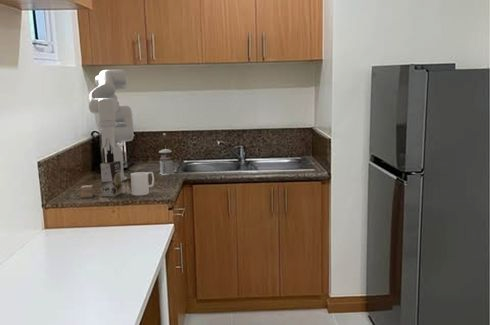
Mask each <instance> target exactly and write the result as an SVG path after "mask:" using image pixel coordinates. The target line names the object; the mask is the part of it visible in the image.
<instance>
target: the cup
mask: <svg viewBox="0 0 490 325" xmlns="http://www.w3.org/2000/svg"><path fill="white" fill-rule="evenodd" d="M150 174H151V178H152V180H151V184H149V175H150ZM130 184H131V186H130V187H131V195H132V196H145V195H149V194H150V188H152V187H154V185H155V176H154V172H153V171H148V172H146V171H139V172H132V173H130Z"/></svg>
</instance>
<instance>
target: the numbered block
mask: <svg viewBox="0 0 490 325" xmlns="http://www.w3.org/2000/svg"><path fill="white" fill-rule="evenodd" d="M93 196H95V195H94V185H93V184H89V185H81V186H80V198H83V199H86V198H93Z"/></svg>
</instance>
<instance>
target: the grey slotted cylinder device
mask: <svg viewBox="0 0 490 325" xmlns="http://www.w3.org/2000/svg"><path fill="white" fill-rule="evenodd" d="M162 135H163V136H164V137H166V136H167V133H165V132H164V133H162ZM158 153H159V154H161V155H160V158H159V159H160V160H159V171H160V172H159V173H158V175H159V174H161V175H160V176H170V175H169V174H172V175H175V174H176V173H175V172H174V168H173V167H174V166H173V165H174V164H173V163H174V162H173V159H172V157H171V156H169V157H166V155H163V154H169V153H173V151H172V150H171V149H169V148H166V146H164V149H161V150H159V151H158Z"/></svg>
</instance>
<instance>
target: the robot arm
mask: <svg viewBox="0 0 490 325" xmlns="http://www.w3.org/2000/svg"><path fill="white" fill-rule="evenodd" d="M94 82H95V86H96V87H94V89H92V90H91V91H90V93H89V96H88V110H89V112H90V113H91V114H94V115H96V114H97V115H98V122H99V128H101V146H102V149H104V158H105V160H104V161H105V162H114V161H120V163H121V178H122V182H123V181H127V176H125V175H124V174H125V173H124V164H123V163H124V162H123V161H124V160H123V149H122V147H121V146H120V145H119V144H118V143H121V142H131V141H133V139H134V137H135V136H134V121H133V111H132V109H131V107H130V106H129V105H120V103H119V100H118V96H117V95H116V91H117V90H126V89H127V88H128V85H129V78H128V74H127V72H126V71H125V70H124V69H103V70H101V71H100V72H99V74H98V75H96V76H95V78H94ZM119 123H122V124H119ZM105 162H104V163H105Z"/></svg>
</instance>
